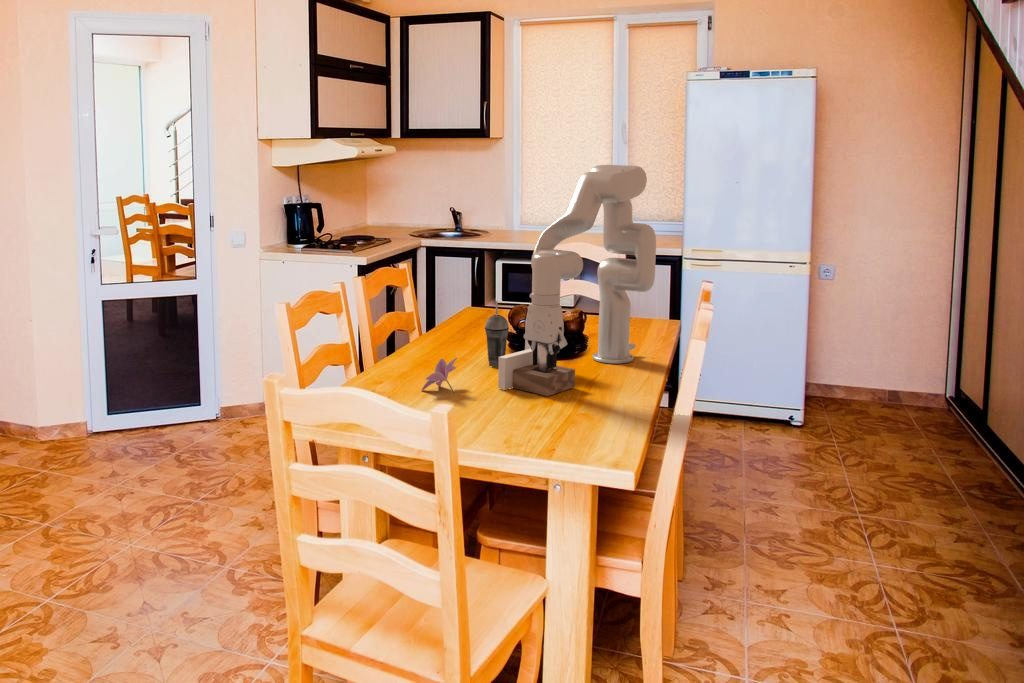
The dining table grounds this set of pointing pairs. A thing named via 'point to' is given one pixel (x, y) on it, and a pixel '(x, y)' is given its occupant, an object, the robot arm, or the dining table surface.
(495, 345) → the beverage cup
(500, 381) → the backstop wall
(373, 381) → the dining table surface
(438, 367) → the lily
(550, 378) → the socket block
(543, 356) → the steel peg
